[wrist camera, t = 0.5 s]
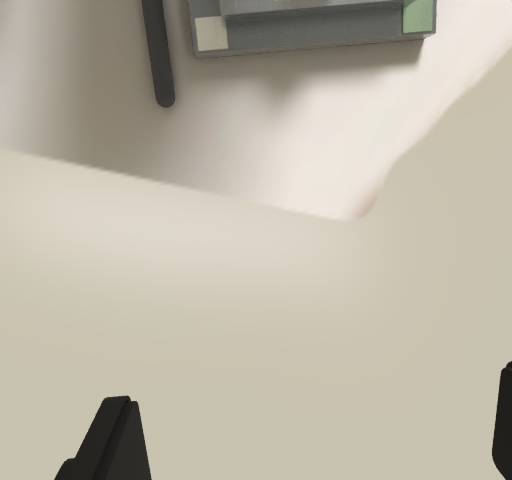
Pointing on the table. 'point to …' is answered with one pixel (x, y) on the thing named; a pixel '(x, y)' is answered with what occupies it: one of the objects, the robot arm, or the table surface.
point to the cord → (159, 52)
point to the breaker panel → (304, 24)
